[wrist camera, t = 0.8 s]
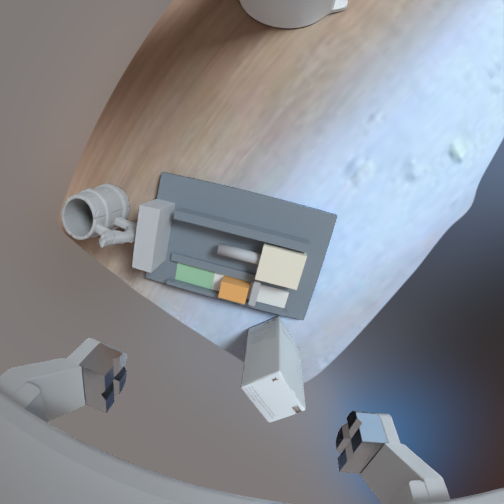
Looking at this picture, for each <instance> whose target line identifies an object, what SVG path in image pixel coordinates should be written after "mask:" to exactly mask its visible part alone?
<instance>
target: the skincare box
mask: <svg viewBox="0 0 504 504" xmlns="http://www.w3.org/2000/svg"><path fill="white" fill-rule="evenodd" d="M241 389H242V390H243V391H244V392H245V394H246V395H247V396H248V398H249V399H250V400H251V401H252V402H253V404H254V405H255V406H256V408H257V409H258V410H259V411H260V412H261V413H262V415H263V416H264V417H265V419H266V420H267V421H268V422H273V421H276V420H279V419H282V418H285V417H287V416H290V415H293V414H296V413H298V412H301V411H304V410H305V409H306V408H305V397H304V388H303V378H302V368H301V359H300V350H299V348H298V346H297V345H296V343H295V341H294V339H293V338H292V336H291V334H290V333H289V331H288V329H287V328H286V326H285V325H284V323H283V322H282V320H281V318H280V316H277V317H275V318H272V319H270V320H268V321H265V322H263V323H260V324H258V325H256V326H254V327H251V328H250V329H249V330H248V338H247V345H246V353H245V360H244V369H243V376H242V383H241Z"/></svg>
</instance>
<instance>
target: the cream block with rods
mask: <svg viewBox="0 0 504 504" xmlns="http://www.w3.org/2000/svg"><path fill="white" fill-rule="evenodd" d="M217 254H219V255H223V256H227V257H230V258H234V259H238V260H242V261H246V262H249V263H253V264H257V265H258V269H257V273H256V277H255V280H254V284H253V288H252V292H251V296H250V299H249V303H248V305H251V306H255V304H256V300H257V296H258V293H259V289H260V285H261V281H263V282H267V283H271V284H275V285H279V286H283V287H287V288H291V289H295V290H297V287H298V284H299V281H300V278H301V275H302V271H303V268H304V265H305V262H306V258H307V255H306V253H305V252H301V251H297V250H294V249H290V248H286V247H282V246H278V245H275V244H271V243H267V242H264V246H263V250H262V254H260V253H256V252H253V251H249V250H245V249H241V248H237V247H233V246H230V245H226V244H222V243H220V244H219V247H218V251H217Z"/></svg>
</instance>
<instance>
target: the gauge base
mask: <svg viewBox="0 0 504 504" xmlns="http://www.w3.org/2000/svg"><path fill="white" fill-rule="evenodd" d="M336 219H337V215H336V214H332V213H329V212H325V211H322V210H318V209H315V208H311V207H307V206H304V205H300V204H296V203H293V202H289V201H285V200H281V199H277V198H274V197H270V196H266V195H262V194H258V193H254V192H250V191H246V190H242V189H237V188H233V187H229V186H225V185H221V184H216V183H212V182H208V181H203V180H199V179H194V178H190V177H185V176H181V175H176V174H171V173H166V172H162V174H161V179H160V184H159V190H158V195H157V199H155V200H152V201H149V202H146V203H143V204H141V205H140V208H139V214H138V221H137V229H136V236H135V244H134V253H133V262H132V267H133V268H136V269H139V270H143V271H146V278H148V279H152V280H155V281H158V282H161V283H165V284H168V285H171V286H175V287H178V288H182V289H185V290H189V291H192V292H196V293H199V294H203V295H206V296H210V297H214V298H217V299H221V300H224V301H228V302H232V303H236V304H239V305H243V306H247V307H251V308H255V309H259V310H263V311H267V312H271V313H275V314H279V315H283V316H287V317H291V318H295V319H299V320H304V318H305V315H306V312H307V309H308V306H309V303H310V300H311V297H312V294H313V291H314V288H315V285H316V282H317V279H318V276H319V273H320V270H321V267H322V264H323V261H324V258H325V255H326V252H327V248H328V245H329V242H330V239H331V235H332V232H333V229H334V225H335V222H336ZM264 242H267V243H271V244H275V245H278V246H282V247H286V248H290V249H294V250H297V251H301V252H305V253H306V255H307V258H306V262H305V265H304V268H303V271H302V275H301V278H300V281H299V284H298V287H297V290H295V289H291V288H287V287H283V286H279V285H275V284H271V283H267V282H263V281H261V285H260V289H259V293H258V296H257V300H256V304H255V306H251V305H248V303H249V299H250V296H251V292H252V288H253V284H254V280H255V277H256V273H257V269H258V265H257V264H253V263H249V262H246V261H242V260H238V259H234V258H230V257H227V256H223V255H219V254H217V251H218V247H219V244H220V243H222V244H226V245H230V246H233V247H237V248H241V249H245V250H249V251H253V252H256V253H260V254H262V250H263V246H264ZM224 276H228V277H232V278H236V279H240V280H243V281H247V282H250V286H249V290H248V294H247V298H246V301H245V304H241V303H238V302H234V301H230V300H226V299H223V298H219V297H218V296H219V291H220V286H221V282H222V280H223V278H224Z"/></svg>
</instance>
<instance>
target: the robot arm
mask: <svg viewBox="0 0 504 504" xmlns="http://www.w3.org/2000/svg"><path fill="white" fill-rule="evenodd" d="M239 1H240V3H241V5H242V7H243V8H244V10H245V11H246V12H247V13H248V14H249V15H250V16H251V17H253V18H254V19H256V20H257V21H259V22H261V23H263V24H266V25H269V26H273V27H278V28H299V27H304V26H308V25H311V24H313V23H315V22H317V21H319V20H320V19H322V18H323V17H324V16H326V15H328V14H330V13H335V12H340V11H343V10H345V9H346V8H347V3H348V2H347V0H239ZM126 362H127V354H126V352H124V351H122V350H119V349H117V348H114V347H112V346H110V345H107V344H105V343H103V342H100V341H98V340H95V339H93V338H91V337H90V338H87V339H86V340H85V341H84V342H83V343H82V344H81V345H80V346H79V347H78V348H77V349H76V350H75V351H74V352H72V354H70V355H69V356H68V357H67V358H66V359H65V358H58V359H53V360H48V361H44V362H39V363H34V364H29V365H24V366H19V367H14V368H9V369H8V370H7V371H6V372H5V373H4V374H2V375H1V376H0V504H294V503H284V502H277V501H270V500H264V499H257V498H252V497H246V496H241V495H236V494H231V493H227V492H223V491H218V490H214V489H210V488H206V487H202V486H199V485H195V484H191V483H188V482H184V481H181V480H178V479H174V478H171V477H168V476H165V475H162V474H159V473H156V472H153V471H150V470H148V469H145V468H142V467H140V466H137V465H135V464H132V463H129V462H127V461H125V460H122V459H120V458H117V457H115V456H113V455H110V454H108V453H105V452H103V451H101V450H99V449H97V448H95V447H93V446H91V445H89V444H86V443H84V442H82V441H80V440H78V439H77V438H75V437H73V436H71V435H69V434H67V433H65V432H63V431H61V430H59V429H58V428H56V427H54V426H52V425H51V424H49V423H48V421H50V420H53V419H55V418H57V417H60V416H62V415H64V414H67V413H69V412H71V411H74V410H76V409H78V408H81V407H83V406H85V404H86V405H88V406H91V407H93V408H96V409H98V410H100V411H102V412H105V413H107V412H108V410H109V408H110V407H111V406H112V404H113V403H114V396H115V395H118V394H120V392H121V391H122V389H123V387H124V384H125V381H126V376H127V371H126V369H125V367H124V365H125V364H126ZM347 422H348V423H346V424H345V425H343V426H342V427H341V428H340V430H339V432H338V435H337V438H336V449H337V450H338V451H339V453H340V456H339V457H338V465H339V472H347V473H359V474H360V475H361V477H362V478H363V479H364V481H365V482H366V483H367V485H368V486H369V487H370V489H371V490H372V491H373V493H374V494H375V495H376V497H377V498H378V499H379V500H380V502H381V503H382V504H504V488H500V489H497V490H493V491H490V492H485V493H481V494H477V495H472V496H467V497H462V498H457V499H451V500H450V497H449V494H448V491H447V489H446V486H445V483H444V480H443V478H442V477H441V476H440V475H439V474H438V473H436V472H435V471H434V470H433V469H432V468H431V467H429V466H428V465H427V464H426V463H425V462H424V461H422V460H421V459H420V458H419V457H418V456H417V455H415V454H414V453H413V452H412V451H411V450H410V449H409V448H407V447H406V446H405V445H404V444H400V441H399V438H398V435H397V432H396V429H395V426H394V423H393V421H392V418H391V416H390V415H389V414H379V413H377V414H376V413H366V412H358V411H352V412H351V413H350V414H349V415H348V417H347Z"/></svg>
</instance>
